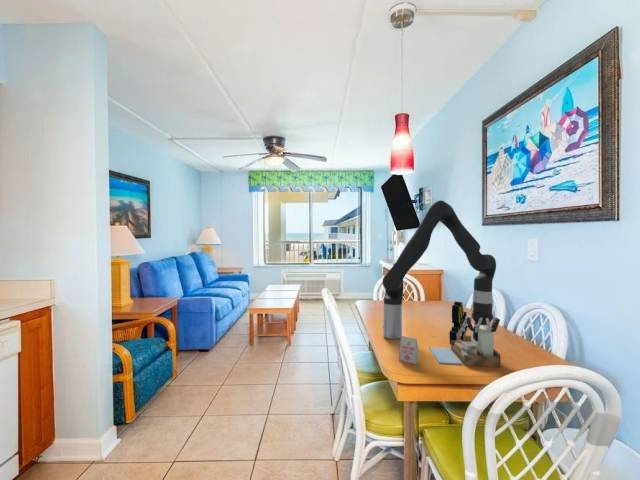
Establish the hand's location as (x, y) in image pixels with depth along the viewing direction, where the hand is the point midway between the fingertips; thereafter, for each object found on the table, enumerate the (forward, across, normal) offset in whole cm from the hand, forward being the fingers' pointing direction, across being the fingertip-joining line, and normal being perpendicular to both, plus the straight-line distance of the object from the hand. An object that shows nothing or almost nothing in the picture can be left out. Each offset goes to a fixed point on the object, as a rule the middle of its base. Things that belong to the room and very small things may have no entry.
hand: (481, 340), depth 140 cm
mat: (+7, -15, 0) cm, 17 cm away
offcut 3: (+4, -7, -5) cm, 9 cm away
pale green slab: (+7, 0, 0) cm, 7 cm away
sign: (+8, -2, +25) cm, 26 cm away
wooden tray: (+7, -3, 0) cm, 8 cm away
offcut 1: (+8, -6, +4) cm, 11 cm away
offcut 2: (+8, -6, -5) cm, 11 cm away
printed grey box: (+8, -32, -8) cm, 34 cm away
